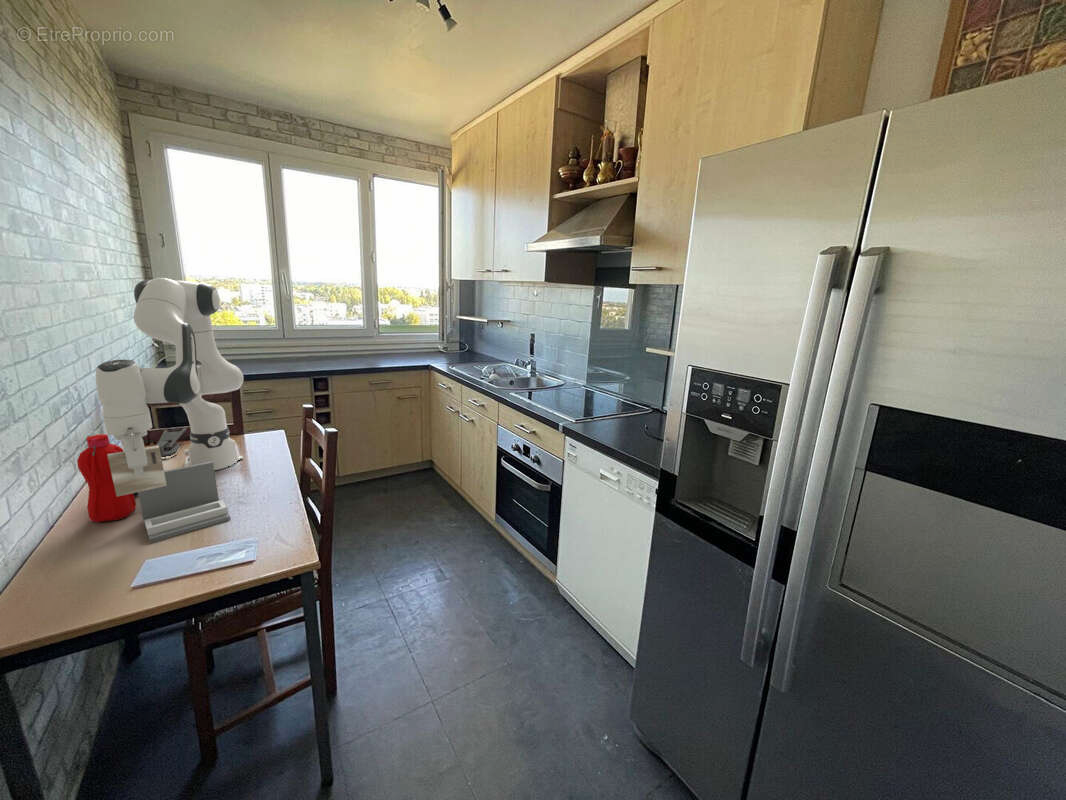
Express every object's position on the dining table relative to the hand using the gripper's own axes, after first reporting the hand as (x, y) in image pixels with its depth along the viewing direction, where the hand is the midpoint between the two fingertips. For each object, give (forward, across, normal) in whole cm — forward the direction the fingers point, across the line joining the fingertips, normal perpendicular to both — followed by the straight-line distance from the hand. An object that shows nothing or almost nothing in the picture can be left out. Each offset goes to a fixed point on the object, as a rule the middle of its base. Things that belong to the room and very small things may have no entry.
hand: (138, 473), depth 115 cm
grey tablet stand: (+18, +3, -8) cm, 20 cm away
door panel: (+5, 0, 0) cm, 5 cm away
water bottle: (+19, +20, +7) cm, 28 cm away
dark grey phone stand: (+20, +80, -12) cm, 83 cm away
